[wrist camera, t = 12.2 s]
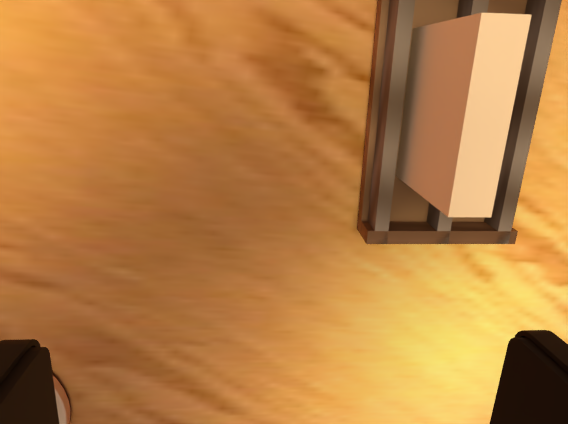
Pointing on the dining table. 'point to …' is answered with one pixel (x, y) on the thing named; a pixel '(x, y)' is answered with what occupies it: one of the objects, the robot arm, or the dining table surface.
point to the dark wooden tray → (388, 119)
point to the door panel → (460, 109)
